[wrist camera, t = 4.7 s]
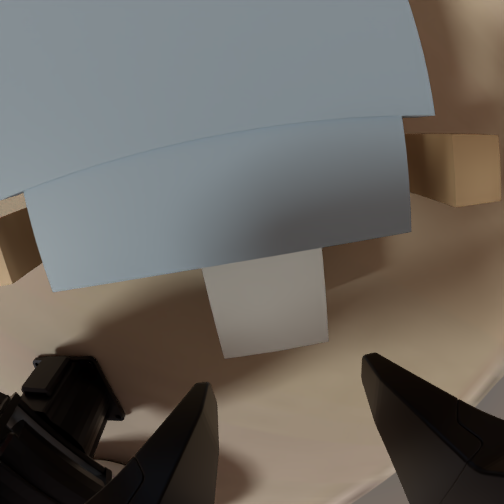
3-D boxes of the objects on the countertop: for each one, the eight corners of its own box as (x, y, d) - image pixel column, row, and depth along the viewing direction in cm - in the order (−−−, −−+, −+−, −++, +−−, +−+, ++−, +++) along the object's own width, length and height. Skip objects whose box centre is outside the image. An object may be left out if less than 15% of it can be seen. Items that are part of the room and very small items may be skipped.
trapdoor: (395, 206, 10) (442, 227, 7) (70, 262, 11) (28, 297, 8) (324, -91, 6) (341, -132, 3) (39, -28, 6) (3, -53, 4)
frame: (378, 169, 17) (500, 201, 7) (90, 221, 17) (-22, 290, 8) (373, 135, 16) (498, 135, 7) (82, 188, 16) (-40, 234, 7)
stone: (308, 295, 19) (328, 341, 14) (227, 309, 19) (224, 358, 15) (299, 215, 18) (321, 241, 13) (210, 230, 18) (200, 261, 13)
